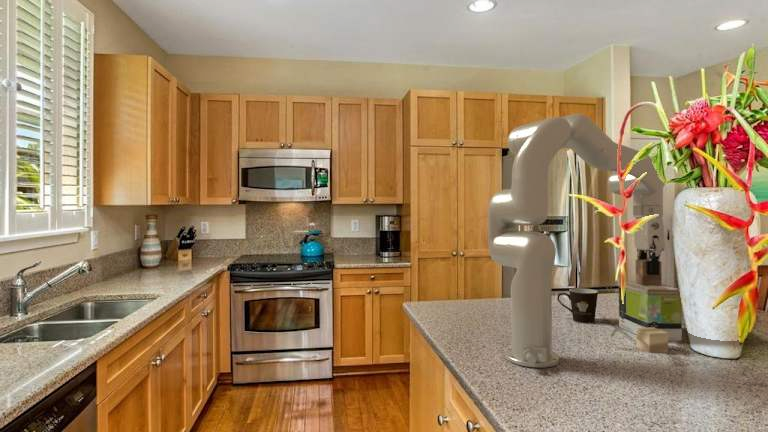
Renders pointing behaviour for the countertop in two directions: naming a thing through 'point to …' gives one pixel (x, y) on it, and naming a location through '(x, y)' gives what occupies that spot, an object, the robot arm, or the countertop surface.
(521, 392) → the countertop surface
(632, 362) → the countertop surface
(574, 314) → the coffee mug
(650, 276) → the walnut block
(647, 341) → the beech block
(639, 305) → the tea box
